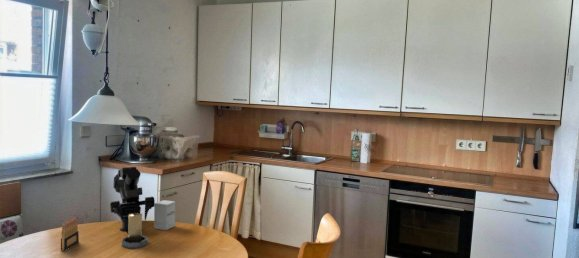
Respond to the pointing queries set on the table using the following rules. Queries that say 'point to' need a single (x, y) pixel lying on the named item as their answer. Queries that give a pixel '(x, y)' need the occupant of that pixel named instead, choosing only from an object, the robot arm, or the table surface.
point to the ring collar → (134, 243)
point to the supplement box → (164, 215)
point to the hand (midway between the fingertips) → (134, 221)
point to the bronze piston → (134, 227)
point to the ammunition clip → (69, 233)
